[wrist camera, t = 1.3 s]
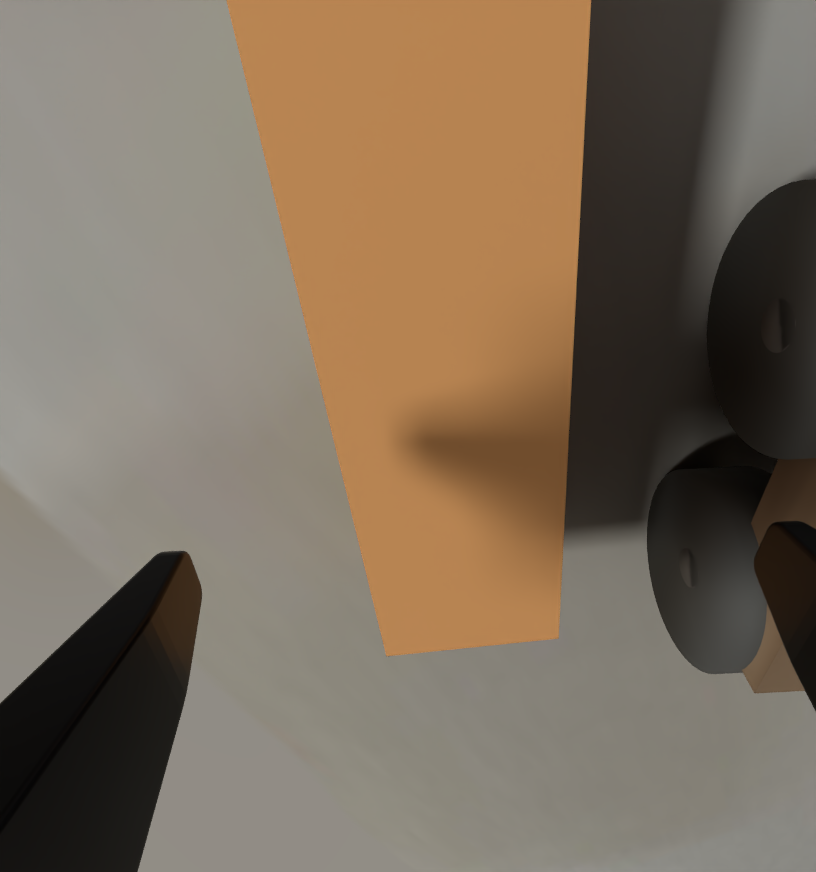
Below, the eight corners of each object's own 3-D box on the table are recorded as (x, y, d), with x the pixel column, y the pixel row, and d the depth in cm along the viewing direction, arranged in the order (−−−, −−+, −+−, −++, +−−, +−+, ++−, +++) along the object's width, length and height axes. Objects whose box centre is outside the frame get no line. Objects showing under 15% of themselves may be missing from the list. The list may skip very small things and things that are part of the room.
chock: (521, -69, 11) (596, -116, 7) (524, 517, 21) (558, 638, 17) (272, -31, 12) (212, -57, 8) (385, 532, 21) (386, 656, 17)
